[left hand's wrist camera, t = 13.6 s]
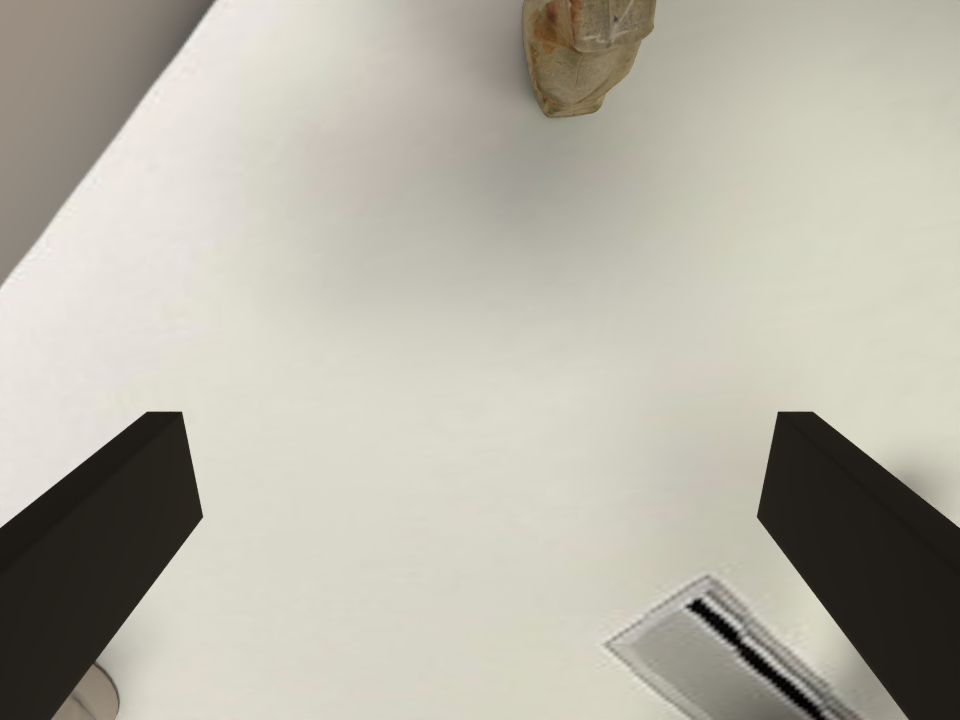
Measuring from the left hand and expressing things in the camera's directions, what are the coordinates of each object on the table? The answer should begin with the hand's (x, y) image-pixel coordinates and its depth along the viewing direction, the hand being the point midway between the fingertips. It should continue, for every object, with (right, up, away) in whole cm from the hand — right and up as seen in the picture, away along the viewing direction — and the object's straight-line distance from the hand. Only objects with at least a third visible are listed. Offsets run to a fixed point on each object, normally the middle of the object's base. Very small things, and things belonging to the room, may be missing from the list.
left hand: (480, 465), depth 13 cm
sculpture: (+5, +21, +23) cm, 32 cm away
